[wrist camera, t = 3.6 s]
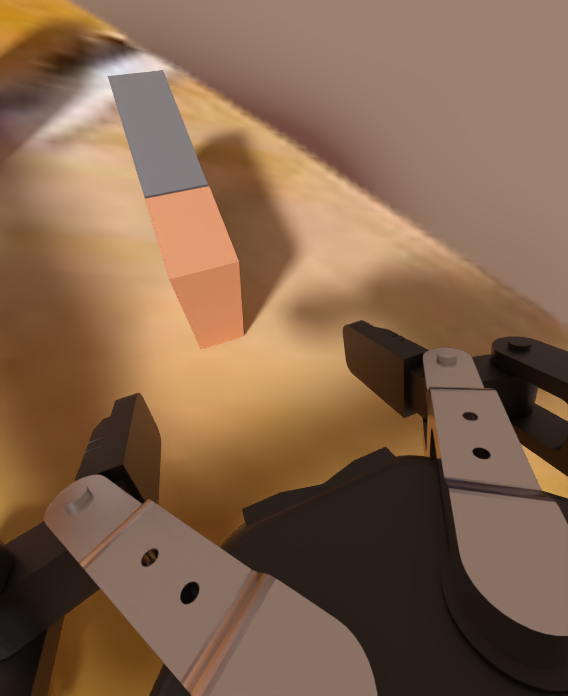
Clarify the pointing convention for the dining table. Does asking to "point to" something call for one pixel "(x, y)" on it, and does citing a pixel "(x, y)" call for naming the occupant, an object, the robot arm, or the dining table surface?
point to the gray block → (156, 134)
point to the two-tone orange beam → (199, 263)
